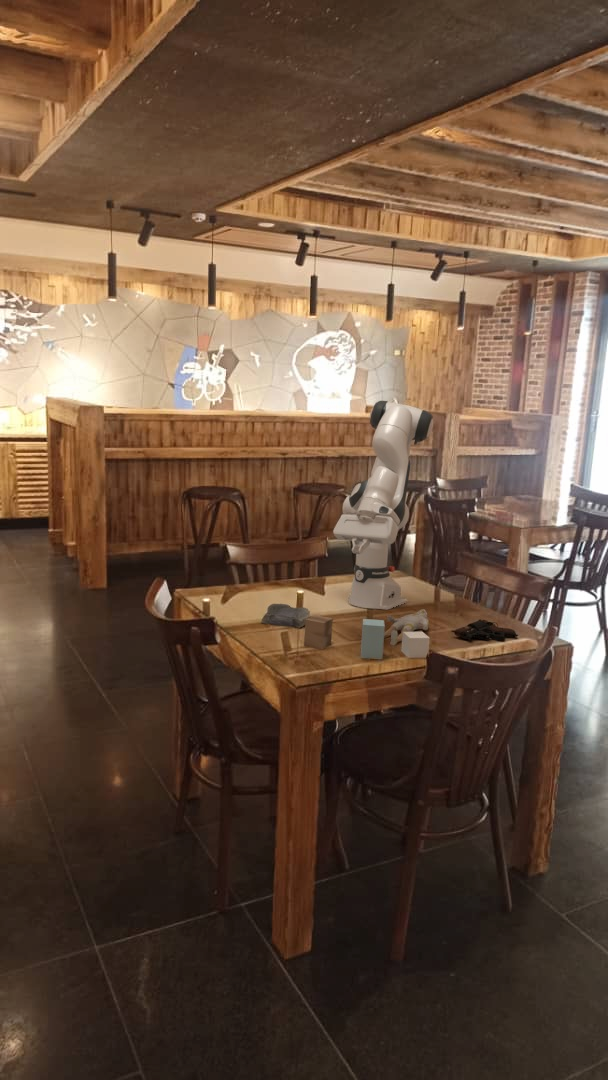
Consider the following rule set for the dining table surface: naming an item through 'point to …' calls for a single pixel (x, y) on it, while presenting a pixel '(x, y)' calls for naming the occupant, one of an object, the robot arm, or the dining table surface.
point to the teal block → (372, 638)
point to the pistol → (485, 631)
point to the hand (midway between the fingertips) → (356, 552)
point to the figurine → (406, 625)
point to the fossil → (285, 615)
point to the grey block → (415, 644)
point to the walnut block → (318, 631)
